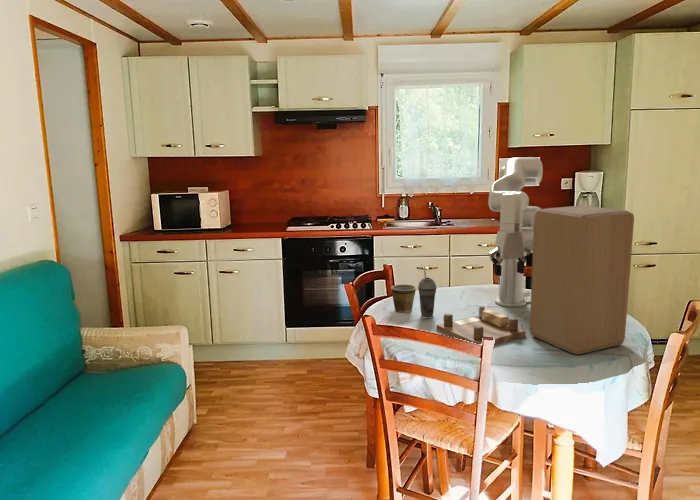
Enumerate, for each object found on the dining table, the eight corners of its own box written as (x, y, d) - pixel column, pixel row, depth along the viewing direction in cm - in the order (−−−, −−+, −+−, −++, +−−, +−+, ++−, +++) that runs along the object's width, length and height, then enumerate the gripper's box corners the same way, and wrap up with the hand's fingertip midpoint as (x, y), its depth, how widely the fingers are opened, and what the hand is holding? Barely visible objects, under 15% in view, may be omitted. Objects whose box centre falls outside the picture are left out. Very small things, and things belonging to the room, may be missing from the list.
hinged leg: (481, 319, 202) (482, 310, 202) (488, 317, 204) (488, 309, 203) (501, 327, 194) (501, 317, 193) (508, 325, 195) (508, 316, 195)
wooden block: (576, 357, 171) (584, 216, 162) (526, 335, 191) (531, 208, 182) (627, 346, 180) (638, 210, 171) (574, 326, 200) (581, 204, 191)
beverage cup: (435, 319, 211) (436, 269, 207) (417, 318, 213) (417, 268, 209) (436, 313, 218) (437, 265, 214) (418, 312, 220) (418, 264, 216)
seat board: (482, 319, 209) (482, 303, 208) (525, 336, 191) (526, 318, 189) (436, 330, 199) (436, 313, 198) (477, 348, 180) (477, 330, 179)
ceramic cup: (420, 312, 220) (420, 288, 218) (399, 316, 216) (399, 292, 214) (403, 304, 232) (403, 281, 230) (383, 307, 227) (383, 284, 225)
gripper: (524, 225, 201) (522, 270, 204) (484, 227, 196) (482, 274, 199) (537, 227, 194) (535, 274, 197) (496, 230, 189) (495, 278, 192)
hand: (509, 274), depth 198 cm, fingers open, 9 cm apart
